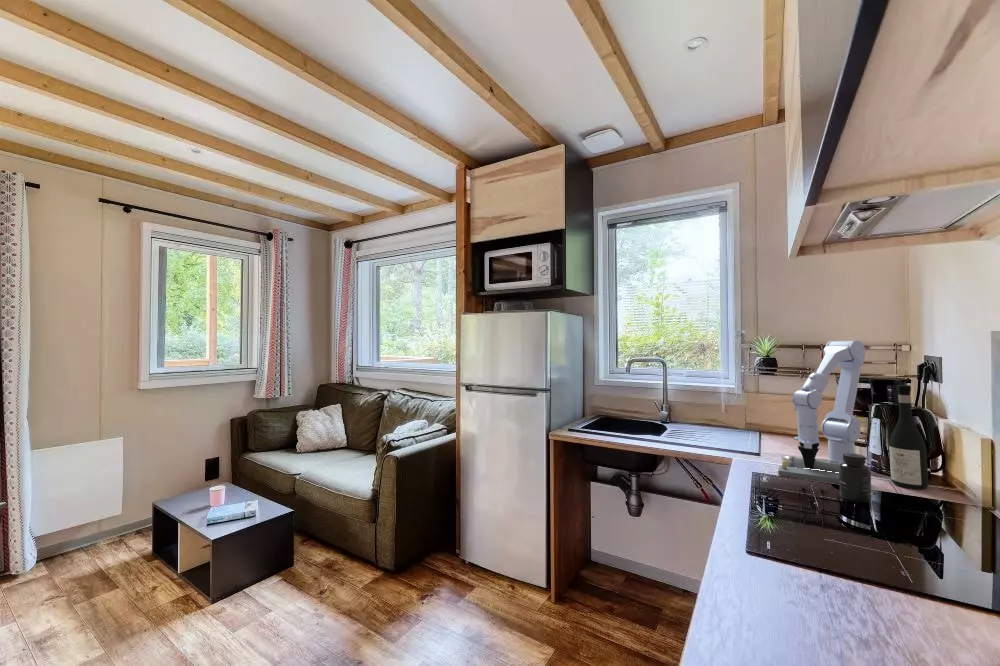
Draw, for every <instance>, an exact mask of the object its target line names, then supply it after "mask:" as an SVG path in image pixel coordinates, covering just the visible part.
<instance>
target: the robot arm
mask: <svg viewBox="0 0 1000 666" xmlns="http://www.w3.org/2000/svg"><path fill="white" fill-rule="evenodd" d="M866 352H867V350H866V347H865V346H864V344H863V343H862V341H860V340H858V339H855V340H837V341H836V340H829V341H828V342H827V343H826V344H825V347H824V348H823V353H824V356H823V358H822V360H821V363H820V365H819V366H818V368H817V370H816V372H811V373H810V374H809V376H808V378H807V379H806V381H805V382H804V384H803V385H802V387H801V388H800V389H798V390H797V391H794V393H793V395H792V398H791V403H792V404H793V405H794V410H795V411H796V421H797V424H796V425H797V436H794V437H793V440H795V441H798V442H799V445H797V449H798V450H799V452H800V454H801V456H802V457H803V460H804V464H805V467H806V468H812V469H813V467H814V462H815V459H816V456H817V453H818V452H819V449H820V448H819V446H820V438H819V436H820V435H819V422H818V421H819V419H818V408H819V407H820V406H821V404H822V401H823V400H822V398H823V393H824V391H825V389H826V388H827V386H828V384H829V383H830V381H829V379H828V377H829V376H830V375H831V373H832V372H833V371H834V370H835V368H836V367H837V366H839V367H840V368H841V369H840V375H839V380H838V383H837V384H838V385H837V391H836V396H835V399H834V404H833V410H832V411H830V412H828V413H826V414H825V416H824V419H823V421H822V423H821V426H820V429H821V433H822V434H823V436H825V439H827V447H828V458H827V460H835V461H838V462H839V465H840V464H841V463H844V461H843V454H844V453H853V454H856V451H855V450H856V449H855V448H856V447H855V443H856V442H857V441H858V440H859V438H860V436H861V426H860V425H861V421H860V420H859V418H857V417H856V416H855V415H854V414H853V413H854V407H855V403H856V397H857V392H858V386H859V381H860V376H861V371H862V366H863V365H864V362H865V361H864V360H865V356H866Z"/></svg>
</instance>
